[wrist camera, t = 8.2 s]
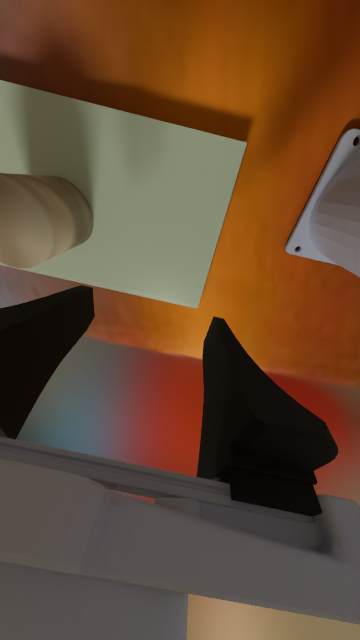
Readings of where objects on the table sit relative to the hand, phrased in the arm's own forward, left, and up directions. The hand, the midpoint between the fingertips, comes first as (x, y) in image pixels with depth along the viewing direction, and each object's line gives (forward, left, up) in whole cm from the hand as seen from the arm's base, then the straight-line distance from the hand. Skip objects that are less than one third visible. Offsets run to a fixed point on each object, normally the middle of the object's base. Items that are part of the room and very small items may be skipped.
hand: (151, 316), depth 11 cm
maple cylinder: (+10, -3, -8) cm, 13 cm away
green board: (+8, -3, -9) cm, 12 cm away
